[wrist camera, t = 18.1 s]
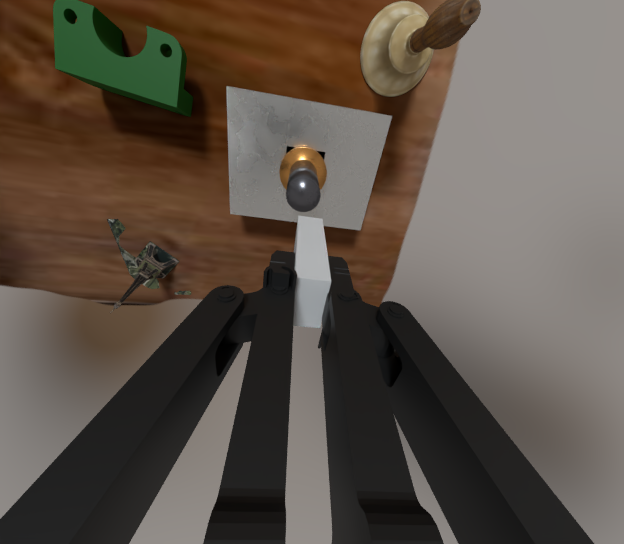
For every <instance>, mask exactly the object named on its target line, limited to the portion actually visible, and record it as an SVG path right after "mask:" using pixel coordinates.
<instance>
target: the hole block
mask: <svg viewBox="0 0 624 544" xmlns="http://www.w3.org/2000/svg"><path fill="white" fill-rule="evenodd" d="M391 119H392V116H389V115H385V114H380V113H374V112H369V111H363V110H358V109H352V108H347V107H341V106H336V105H330V104H324V103H319V102H313V101H308V100H302V99H297V98H291V97H286V96H280V95H275V94H269V93H264V92H258V91H252V90H247V89H241V88H236V87H228V86H227V121H228V155H229V190H230V214H236V215H244V216H251V217H259V218H267V219H275V220H283V221H290V222H298V216H306V217H313V218H320V219H323V226H329V227H337V228H345V229H353V230H361V226H362V223H363V219H364V216H365V212H366V208H367V205H368V201H369V198H370V194H371V191H372V187H373V183H374V180H375V176H376V173H377V169H378V165H379V162H380V158H381V155H382V151H383V147H384V144H385V140H386V137H387V133H388V129H389V126H390V122H391ZM288 146H290V147H298V146H307V147H311V148H313V149H315V150H316V151H321V152H322V154H321V156H322V158H323V159H324V162H325V165H326V169H327V178H326V181H325V184H324V186H323V187H322V189H321V190H320V194H321V196H320V201H319V203H318V205H317V206H316V207H315V208H314V209H313V210H311V211H308V212H299V211H296V210H294V209H293V208H292V207H291V206H290V205H289V204H288V202H287V199H286V189H285V188H284V186H283V185H282V183H281V180H280V174H279V170H280V165H281V162H282V160H283V158H284V156H285V155H286V153H287V152H288Z"/></svg>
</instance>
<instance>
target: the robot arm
mask: <svg viewBox="0 0 624 544" xmlns="http://www.w3.org/2000/svg"><path fill="white" fill-rule="evenodd" d="M321 323H322V327H323V328H322V333H321V337H320V341H319V345H318V348H320V347H321V351H322V368H323V384H324V400H325V416H326V432H327V447H328V465H329V481H330V499H331V514H332V544H444V543H443V540H442V538H441V535H440V532H439V530H438V527H437V525H436V523H435V521H434V520H433V518H432V516H431V515H430V514H429V513H428V512H427V511H426V510H425V509H423V507H422V506H421V505H420V503H419V502H418V500H417V497H416V494H415V491H414V487H413V483H412V480H411V476H410V473H409V469H408V465H407V462H406V458H405V455H404V451H403V447H402V444H401V440H400V437H399V433H398V429H397V426H396V422H395V419H394V415H395V418H396V419H397V422H398V423H399V426H400V427H401V430H402V431H403V434H404V436H405V438H406V440H407V441H408V443H409V446H410V447H411V449H412V452H413V453H414V455H415V458H416V460H417V462H418V464H419V466H420V468H421V469H422V472H423V474H424V476H425V477H426V479H427V482H428V484H429V485H430V487H431V490H432V492H433V494H434V495H435V498H436V500H437V501H438V503H439V505H440V507H441V509H442V511H443V513H444V515H445V517H446V519H447V521H448V523H449V525H450V527H451V529H452V531H453V533H454V535H455V537H456V539H457V541H458V543H459V544H594V543H593V542H592V540H591V539H590V538H589V537H588V535H587V534H586V533H585V532H584V530H583V529H582V528H581V527H580V525H579V524H578V523H577V522H576V520H575V519H574V518H573V517H572V515H571V514H570V513H569V511H568V510H567V509H566V508H565V507H564V505H563V504H562V503H561V501H560V500H559V499H558V498H557V496H556V495H555V494H554V493H553V491H552V490H551V489H550V488H549V486H548V485H547V484H546V483H545V481H544V480H543V479H542V478H541V476H540V475H539V474H538V473H537V471H536V470H535V469H534V467H533V466H532V465H531V464H530V462H529V461H528V460H527V459H526V457H525V456H524V455H523V454H522V453H521V451H520V450H519V449H518V447H517V446H516V445H515V444H514V442H513V441H512V440H511V439H510V437H509V436H508V435H507V434H506V433H505V431H504V430H503V428H502V427H501V426H500V425H499V424H498V422H497V421H496V420H495V418H494V417H493V416H492V415H491V413H490V412H489V411H488V410H487V408H486V407H485V406H484V405H483V403H482V402H481V401H480V400H479V398H478V397H477V396H476V395H475V393H474V392H473V391H472V390H471V389H470V387H469V386H468V384H467V383H466V382H465V381H464V380H463V378H462V377H461V376H460V374H459V373H458V372H457V371H456V369H455V368H454V367H453V366H452V364H451V363H450V362H449V361H448V359H447V358H446V357H445V356H444V355H443V353H442V352H441V351H440V350H439V348H438V347H437V345H436V344H435V343H434V342H433V340H432V339H431V338H430V337H429V335H428V334H427V333H426V332H425V330H424V329H423V328H422V327H421V325H420V324H419V323H418V322H417V320H416V319H415V318H414V317H413V315H412V314H411V313H410V312H409V310H408V309H406V308H405V307H404V306H402V305H401V304H398V303H395V302H391V301H387V302H383V303H382V304H381V305H380V306H379V307H376V306H373V305H370V304H367V303H365V302H363V301H362V299H361V297H360V295H359V293H357V292H356V291H355V290H354V289H353V285H352V281H351V277H350V273H349V270H348V265H347V263H346V261H345V260H344V259H343V258H341V257H333V256H328V254H327V247H326V240H325V233H324V226H323V219H320V218H313V217H306V216H298V222H297V230H296V238H295V246H294V253H293V252H285V251H276V252H275V253H273V254H272V256H271V261H270V266H269V267H267V268H266V269H265V271H264V281H263V288H262V289H260V290H259V291H256V292H253V293H246V294H243V291H242V290H241V289H240V288H237V287H235V286H229V285H227V286H220V287H217V288H215V289H213V290H212V291H211V292H210V293H209V294H208V295H207V296H206V297H205V298H204V299H203V300H202V301H201V302H200V303H199V305H198V306H197V307H196V308H195V309H194V310H193V311H192V312H191V313H190V314H189V315H188V316H187V318H186V319H185V320H184V321H183V322H182V323H181V324H180V325H179V326H178V327H177V328H176V329H175V331H174V332H173V333H172V334H171V335H170V336H169V337H168V338H167V339H166V340H165V341H164V342H163V344H162V345H161V346H160V347H159V348H158V349H157V350H156V351H155V352H154V353H153V354H152V355H151V357H150V358H149V359H148V360H147V361H146V362H145V363H144V364H143V365H142V366H141V367H140V369H139V370H138V371H137V372H136V373H135V374H134V375H133V376H132V377H131V378H130V379H129V380H128V382H127V383H126V384H125V385H124V386H123V387H122V388H121V389H120V390H119V391H118V392H117V394H116V395H115V396H114V397H113V398H112V399H111V400H110V401H109V402H108V403H107V404H106V405H105V406H104V407H103V409H102V410H101V411H100V412H99V413H98V414H97V415H96V416H95V417H94V418H93V419H92V420H91V422H90V423H89V424H88V425H87V426H86V427H85V428H84V429H83V430H82V431H81V432H80V434H79V435H78V436H77V437H76V438H75V439H74V440H73V441H72V442H71V443H70V444H69V445H68V447H66V449H65V450H64V451H63V452H62V453H61V454H60V455H59V456H58V457H57V458H56V459H55V460H54V462H53V463H52V464H51V465H50V466H49V467H48V468H47V469H46V470H45V471H44V472H43V474H42V475H41V476H40V477H39V478H38V479H37V480H36V481H35V482H34V483H33V484H32V486H31V487H30V488H29V489H28V490H27V491H26V492H25V493H24V494H23V495H22V496H21V497H20V499H19V500H18V501H17V502H16V503H15V504H14V505H13V506H12V507H11V508H10V509H9V510H8V512H6V514H5V515H4V516H3V517H2V518H1V519H0V544H129V543H130V541H131V539H132V537H133V536H134V534H135V532H136V530H137V529H138V527H139V525H140V523H141V522H142V520H143V518H144V516H145V515H146V513H147V511H148V510H149V508H150V506H151V504H152V502H153V501H154V499H155V497H156V496H157V494H158V492H159V490H160V489H161V487H162V485H163V483H164V481H165V480H166V478H167V476H168V475H169V473H170V471H171V469H172V467H173V465H174V464H175V462H176V461H177V459H178V457H179V455H180V453H181V452H182V450H183V448H184V447H185V445H186V443H187V442H188V440H189V438H190V436H191V435H192V433H193V431H194V429H195V428H196V426H197V424H198V422H199V420H200V419H201V417H202V415H203V414H204V412H205V410H206V408H207V407H208V405H209V403H210V401H211V400H212V398H213V396H214V394H215V393H216V391H217V389H218V387H219V386H220V384H221V382H222V381H223V379H224V377H225V375H226V374H227V372H228V370H229V368H230V366H231V365H232V363H233V361H234V359H235V358H236V356H237V354H238V353H239V351H240V349H241V348H242V346H243V343H244V342H249V341H251V346H250V351H249V355H248V360H247V365H246V369H245V374H244V379H243V383H242V388H241V393H240V397H239V402H238V406H237V411H236V415H235V420H234V425H233V429H232V434H231V439H230V443H229V448H228V452H227V457H226V462H225V466H224V471H223V475H222V480H221V485H220V489H219V494H218V497H217V501H216V503H215V506H214V508H213V510H212V513H211V516H210V520H209V523H208V527H207V531H206V535H205V539H204V543H203V544H285V535H286V508H285V485H286V465H287V445H288V422H289V403H290V383H291V362H292V341H293V339H292V338H293V326H303V327H314V328H320V327H321ZM393 414H394V415H393Z"/></svg>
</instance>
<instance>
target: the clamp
mask: <svg viewBox="0 0 624 544" xmlns="http://www.w3.org/2000/svg"><path fill="white" fill-rule="evenodd" d="M53 18H54V45H55V69H58V70H60V71H62V72H64V73H66V74H68V75H71V76H73V77H75V78H77V79H79V80H81V81H83V82H86V83H88V84H90V85H93V86H95V87H98V88H101V89H103V90H106V91H110V92H113V93H116V94H119V95H122V96H125V97H128V98H132V99H135V100H138V101H141V102H144V103H147V104H150V105H153V106H157V107H160V108H163V109H166V110H169V111H172V112H175V113H179V114H182V115H185V116H189V117H191V112H192V103H193V96H191V95H190V94H189V93H188V92H187V91H185V90H184V82H185V72H186V63H187V58H186V53H185V51H184V49H183V48H182V46H181V45H180V44H179V43H178V41H177V40H176V39H175V38H174V37H173V36H171V35H170V34H167V33H165V32H162V31H159V30H157V29H154V28H151V27H149V26H146V27H147V42H146V45H145V47H144V49H143V50H142V51H141V52H140V53H139V54H138V55H136V56H133V57H125V55H124V52H123V49H122V33H123V31H121V30H120V29H119V28H118V27H117V26H116V25H115V24H113V23H112V22H111V21H110V20H109V19H108V18H107V17H106V16H104V15H103V14H102V13H101V12H100V11H99V10H98V9H97V8H95V7H94V6H92V5H89V4H86V3H84V2H81V1H78V0H56V1H55V3H54V6H53ZM76 18H77V22H76V23H75V20H76Z"/></svg>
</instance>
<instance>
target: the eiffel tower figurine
mask: <svg viewBox="0 0 624 544" xmlns="http://www.w3.org/2000/svg"><path fill="white" fill-rule="evenodd" d="M107 220H108V223H109V225H110V228H111V230H112V232H113V235H114V237H115V239H116V242H117V244H118V246H119V249H120V251H121V254H122V256H123V259H124V261H125V263H126V266H127V268H128V270H129V273H130V275H131V276H132V277H133V278H134V279H135V280H134V282H133V284H132V285H131V286H130V288H129V289H128V290H127V292H126V293H125V294H124V295H123V297H122V298H121V299H120V300H119V302H117V303H116V304H115V306H114V309H115V308H118V307H120V306H121V303H122V302H123V301H124V300H125V299H126V298H127V297H128V296H129V295H130V294H131V293H132V292H133V291H134V290H135V289H136V288H138V287H139V286H140V285H141V284H143V285H144V286H146V287H148V288H151V289H155V288H160V287H159V281H158V280H157V279H156V278H164V277H165V276H166V275H167V274H168V273H169V272H170V271H171V270H172V269H173V268H174V267H175V266H176V265H177V264H178V263H179V261H178V260H177V259H175V258H174V257H172V256H171V255H170V254H168V253H167V252H165V251H164V250H162V249H161V248H159V247H158V246H156V245H155V244H153V243H152V242H149V243H148V244H147V246H146V247H145V248H144V249H143V251H142V252H141V253H140V254H139V256H138V257H137V258H135V257H134V256H132V255H131V254H129V253H128V252H127V251H125V250H124V249H123V248H122V247H121V246H120V245H119V236H120V234H121V233H122V232H123V231H124V230H125V227H124V226H123V225H122V223H121V222H120V221H119V220H118V219H107ZM175 294H186V295H191V291H179V292H177V293H176V292H175ZM112 311H113V310H112Z"/></svg>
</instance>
